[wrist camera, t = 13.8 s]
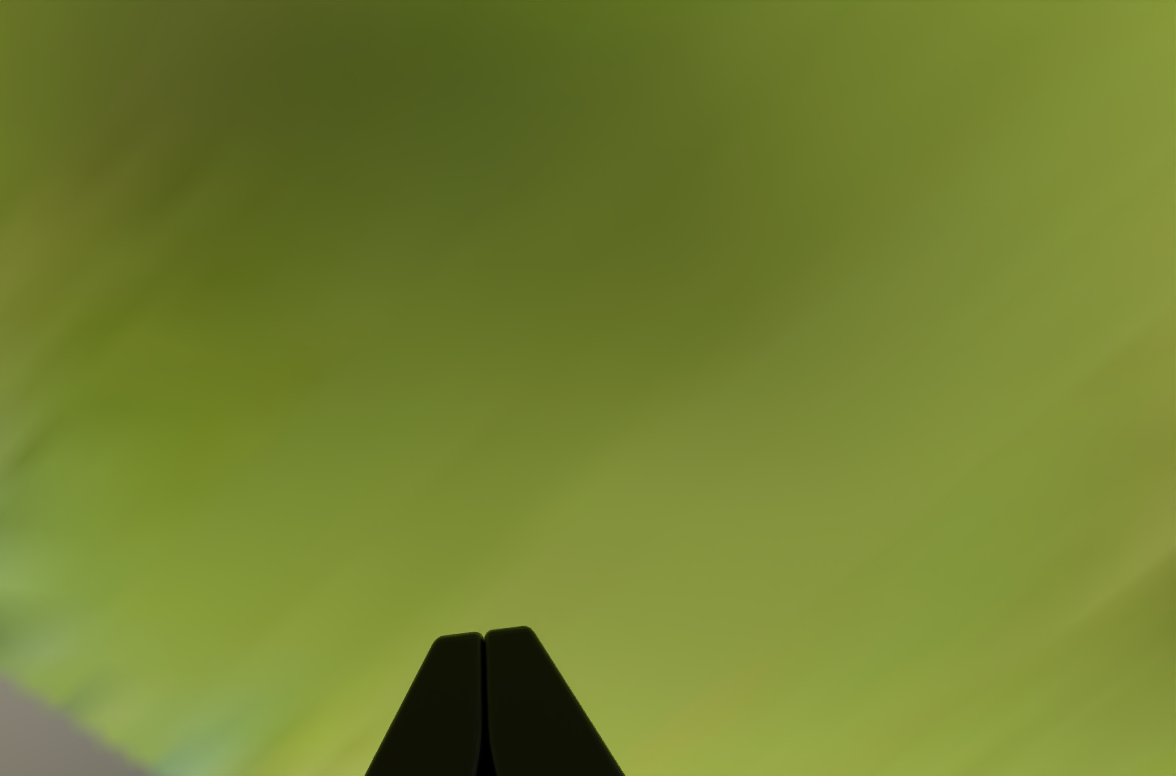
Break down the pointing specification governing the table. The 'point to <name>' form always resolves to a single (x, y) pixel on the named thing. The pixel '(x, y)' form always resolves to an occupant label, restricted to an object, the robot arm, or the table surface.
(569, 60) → the table surface
